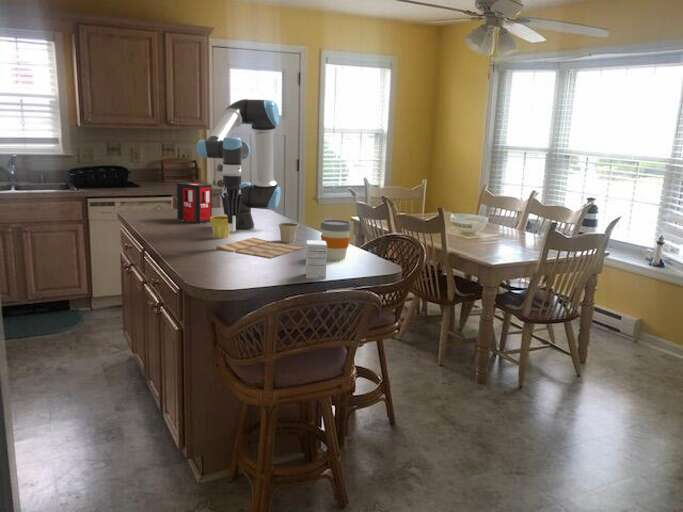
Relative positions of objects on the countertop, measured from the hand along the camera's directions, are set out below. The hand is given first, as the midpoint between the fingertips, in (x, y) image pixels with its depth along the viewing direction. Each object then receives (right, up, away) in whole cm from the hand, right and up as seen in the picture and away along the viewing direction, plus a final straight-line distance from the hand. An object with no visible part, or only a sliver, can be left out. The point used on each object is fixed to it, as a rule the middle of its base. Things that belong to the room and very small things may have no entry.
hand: (231, 230), depth 251 cm
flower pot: (+22, -5, +22) cm, 31 cm away
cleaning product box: (-33, +8, +68) cm, 76 cm away
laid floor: (+17, -9, +1) cm, 19 cm away
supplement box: (+37, -18, -36) cm, 55 cm away
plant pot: (-10, -3, +26) cm, 27 cm away
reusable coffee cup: (+44, -12, -5) cm, 45 cm away
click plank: (+4, -7, +7) cm, 11 cm away
